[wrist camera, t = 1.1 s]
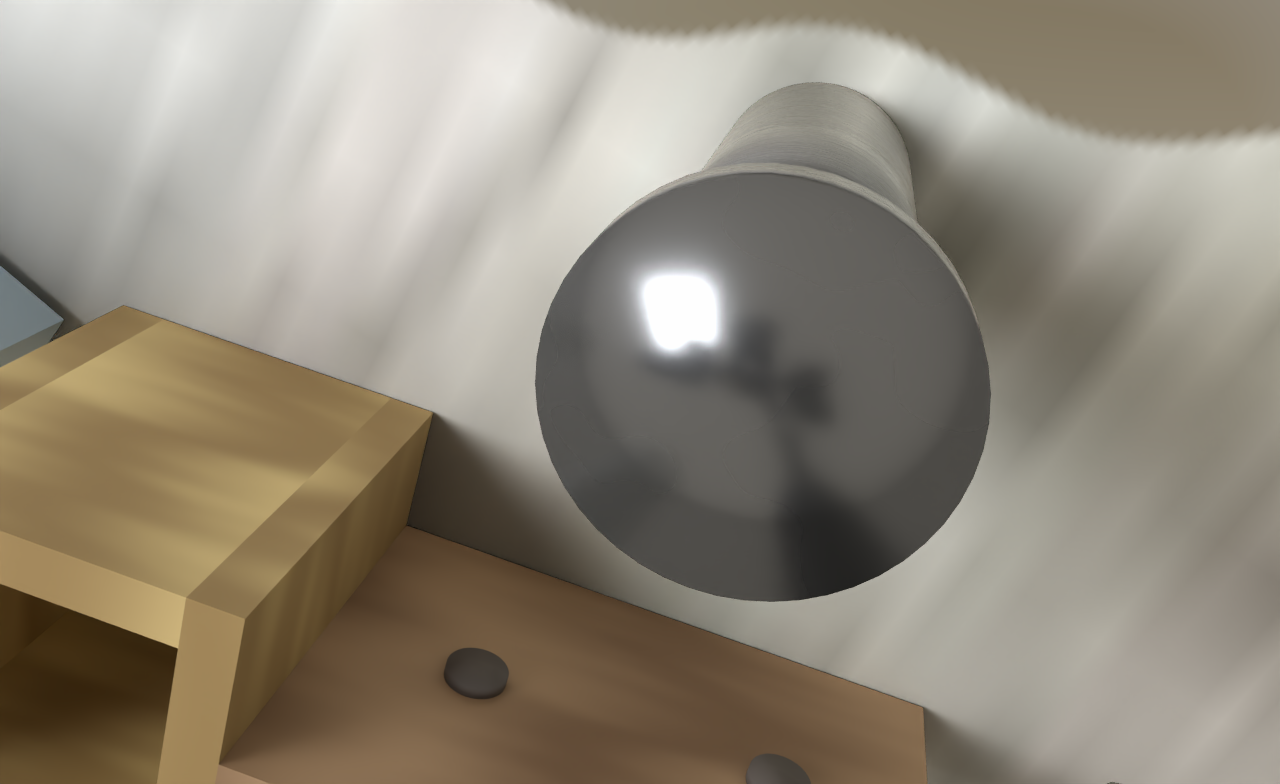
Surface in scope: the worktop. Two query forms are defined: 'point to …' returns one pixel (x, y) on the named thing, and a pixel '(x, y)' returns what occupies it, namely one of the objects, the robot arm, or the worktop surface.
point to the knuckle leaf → (336, 606)
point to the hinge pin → (769, 362)
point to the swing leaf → (23, 320)
